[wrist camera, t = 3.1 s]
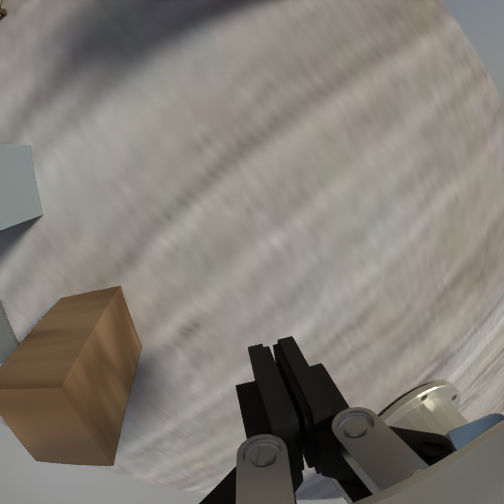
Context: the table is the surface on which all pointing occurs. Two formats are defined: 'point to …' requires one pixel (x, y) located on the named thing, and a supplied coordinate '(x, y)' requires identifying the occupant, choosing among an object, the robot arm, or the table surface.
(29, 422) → the walnut block
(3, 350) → the felt mat
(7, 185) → the slate block
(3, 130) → the table surface
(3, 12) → the game die
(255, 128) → the table surface
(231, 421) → the table surface
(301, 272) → the table surface
